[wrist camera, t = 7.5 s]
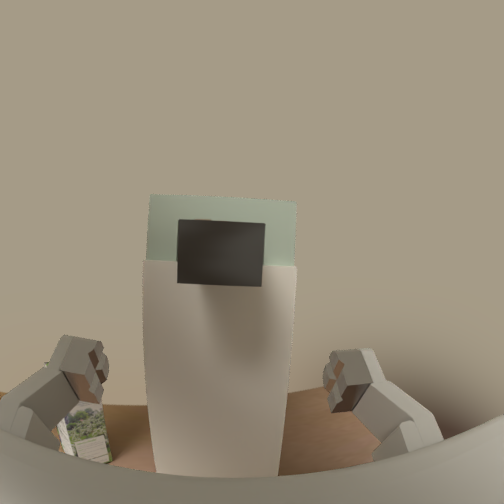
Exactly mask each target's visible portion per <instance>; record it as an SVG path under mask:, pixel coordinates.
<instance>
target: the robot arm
mask: <svg viewBox="0 0 504 504" xmlns="http://www.w3.org/2000/svg"><path fill="white" fill-rule="evenodd" d="M103 348H104V347H103V345H102V342H101V341H96V340H90V339H85V338H79V337H74V336H68V335H63V336H62V337H61V338H60V340H59V342H58V344H57V347H56V349H55V351H54V353H53V355H52V357H51V359H50V361H49V364H48V366H47V368H46V367H43V368H42V369H40V370H39V371H37V372H36V373H34V374H33V375H32V376H30V377H29V378H28V379H26V380H25V381H23V382H22V383H21V384H19V385H18V386H17V387H15V388H14V389H12V390H11V391H10V392H8V393H7V394H6V395H4V396H3V397H2V398H1V401H0V504H504V414H503V415H500V416H498V417H496V418H494V419H492V420H490V421H488V422H486V423H483V424H481V425H479V426H477V427H475V428H472V429H470V430H468V431H466V432H463V433H461V434H458V435H456V436H454V437H451V438H449V439H446V440H444V439H443V437H442V434H441V432H440V429H439V427H438V425H437V423H436V420H435V418H434V415H433V414H432V413H431V412H430V411H429V410H427V409H426V408H425V407H423V406H422V405H421V404H419V403H418V402H417V401H415V400H414V399H412V398H411V397H410V396H409V395H407V394H406V393H405V392H404V391H402V390H401V389H400V388H398V387H397V386H396V385H394V384H393V383H392V382H390V381H386V379H385V377H384V374H383V372H382V370H381V368H380V365H379V363H378V361H377V359H376V356H375V354H374V352H373V350H372V349H371V348H366V349H350V350H336V351H332V352H331V354H330V356H329V359H330V362H329V363H328V364H327V365H326V366H325V368H324V371H323V384H324V388H325V389H326V390H327V391H328V392H329V393H330V394H329V396H328V398H327V399H328V403H329V407H330V410H331V413H337V412H347V411H352V413H353V414H354V415H355V416H356V417H357V418H358V419H359V420H360V421H361V422H362V423H363V424H364V425H365V426H366V427H367V428H368V429H369V430H370V431H371V432H372V434H373V435H374V436H375V437H376V438H377V439H378V440H379V441H380V442H381V444H380V445H379V446H378V447H377V448H376V449H375V450H374V451H373V452H372V457H373V460H374V462H370V463H365V464H361V465H356V466H351V467H346V468H340V469H334V470H328V471H322V472H314V473H306V474H297V475H287V476H273V477H252V478H217V477H195V476H182V475H171V474H162V473H155V472H147V471H141V470H135V469H129V468H123V467H118V466H113V465H109V464H104V463H100V462H95V461H91V460H87V459H84V458H80V457H76V456H73V455H69V454H66V453H63V452H59V451H58V450H59V446H60V442H59V440H58V439H57V438H56V437H55V436H54V435H53V433H52V432H51V431H52V430H53V428H54V427H55V426H56V425H57V424H58V423H59V422H60V421H61V420H62V419H63V418H64V417H65V416H66V415H67V414H68V413H69V412H70V411H71V410H72V409H73V408H74V407H75V406H76V405H77V404H78V403H79V401H84V402H89V403H95V404H100V401H101V398H102V394H103V391H104V389H103V387H102V385H101V384H102V383H103V382H105V381H106V380H107V377H108V372H109V363H108V359H107V356H106V355H105V354H103V352H102V351H103Z"/></svg>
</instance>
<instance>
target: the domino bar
mask: <svg viewBox="0 0 504 504" xmlns="http://www.w3.org/2000/svg"><path fill="white" fill-rule="evenodd" d="M264 234H265V223H252V222H233V221H212V220H211V219H195V220H189V219H179V234H178V261H177V283H181V284H201V285H223V286H250V287H262V270H263V252H264Z"/></svg>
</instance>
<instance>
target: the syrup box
mask: <svg viewBox="0 0 504 504" xmlns="http://www.w3.org/2000/svg"><path fill="white" fill-rule="evenodd" d="M48 364H49V362H46V363H44V367H46V368H47V366H48ZM56 427H57V430H58V434H59V438H60V441H61V445H62V448H63V450H64V451H65V453H66V454H69V455H73V456H76V457H80V458H84V459H87V460H91V461H95V462H100V463H104V464H105V463H108V462H111V461H112V455H111V451H110V446H109V441H108V436H107V430H106V425H105V419H104V413H103V406H102V399H101V401H100V404H95V403H89V402H84V401H79V403H78V404H77V405H76V406H75V407H74V408H73V409H72V410H71V411H70V412H69V413H68V414H67V415H66V416H65V417H64V418H63V419H62V420H61V421H60V422H59V423H58V424H57V425H56Z"/></svg>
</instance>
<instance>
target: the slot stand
mask: <svg viewBox="0 0 504 504" xmlns="http://www.w3.org/2000/svg"><path fill="white" fill-rule="evenodd" d="M296 204H297V202H294V201H281V200H280V201H279V200H267V199H252V198H251V199H250V198H234V197H215V196H191V195H156V194H155V195H154V194H151V195H150V202H149V215H148V231H147V251H146V252H147V253H146V260H143V345H144V365H145V380H146V393H147V405H148V414H149V423H150V432H151V440H152V447H153V454H154V460H155V467H156V473H162V474H171V475H182V476H195V477H217V478H252V477H273V476H278V470H279V463H280V455H281V447H282V439H283V431H284V422H285V413H286V403H287V394H288V382H289V373H290V361H291V350H292V338H293V324H294V309H295V293H296V278H297V277H296V276H297V267H294V255H295V234H296ZM179 219H189V220H195V219H211V220H212V221H233V222H252V223H265V234H264V252H263V270H262V287H250V286H223V285H201V284H181V283H177V261H178V234H179Z"/></svg>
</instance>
